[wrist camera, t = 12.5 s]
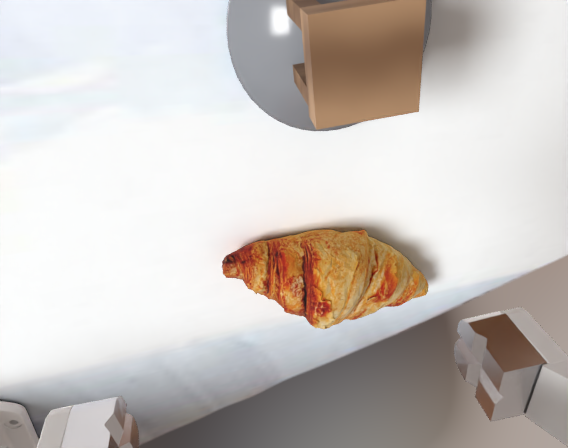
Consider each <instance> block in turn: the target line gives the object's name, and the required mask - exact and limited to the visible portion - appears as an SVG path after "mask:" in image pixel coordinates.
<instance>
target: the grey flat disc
mask: <svg viewBox="0 0 568 448" xmlns="http://www.w3.org/2000/svg"><path fill="white" fill-rule="evenodd" d="M316 1H317V2H319V3H320V4H327V3H333V2H339V1H346V0H316ZM430 22H431V0H426V11H425V25H424V40H423V52H424V49H425V46H426V43H427V39H428V35H429V30H430ZM227 40H228V48H229V52H230V56H231V60H232V64H233V67H234V69H235V72H236V74H237V77H238V79H239V81H240V82H241V84H242V86H243V88H244V89H245V91H246V92H247V94H248V95H249V96H250V98H251V99H252V100H253V101H254V102H255V103H256V104H257V105H258V106H259V107H260V108H261V109H262V110H263V111H264V112H266V113H267V114H268V115H269V116H271V117H273V118H274V119H276V120H278V121H280V122H282V123H284V124H286V125H289V126H291V127H295V128H299V129H303V130H310V131H329V130H337V129H341V128H345V127H349V126H352V125H354V124H357V123H360V122H357V123H352V124H346V125H340V126H335V127H329V128H324V129H318V130H316V128H315V126H314V124H313V123H312V121H311V119H310V117H309V109H308V105H307V103H306V101H305V100H304V98H303V96H302V94H301V93H300V91H299V89H298V88H297V86H296V84H295V82H294V75H293V65H294V64H300V63H305V62H304V51H303V39H302V31H301V30H300V28H299V27H298V26H297V25H296V24H295V23H294V22H293V21H292V20H291V18H290V17H289V16H288V15H287V7H286V0H229V3H228V11H227Z"/></svg>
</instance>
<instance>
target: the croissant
mask: <svg viewBox="0 0 568 448" xmlns="http://www.w3.org/2000/svg"><path fill="white" fill-rule="evenodd" d="M222 264H223V265H222V268H223V274H224V275H225V276H226V277H227V278H237V279H243V281H244V283H245V284H246V286H247V287H248V289H251V290H253V291H254V292H255V293H256V294H257V293H259V294H261V295H265V296H266V297H267V298H268V299H273V300H276V301H277V302H278V303H279V304H280V305H281V306H282V307H283V308H284V311H285V312H286V313H290V314H295V315H299V316H304V317H306V319H307V320H308V322H309V323H310V324H311V325H312V326H314V327H315V328H322V329H326V328H329V327H331V326H332V325H336V324H338V323H340V322H342V321H343V320H344V319H350V320H354V319H357V318H361V317H364V316H366V315H369V314H372V313H374V312H376V311H377V310H379V309H380V308H382V307H385V306H399V305H402V304H403V303H405V302H407V301H409V300H411V299H412V298H416V297H420V296H424V295H426V294H427V292H428V283H427V281H426V279H425V277H424V275H423V274H422V273H421V272H420V271H419V270H417V269H416V268H415V267H414V266H413V265H412V264H411V262H410V261H409V260H408V259H407V258H406V257H404V256H403V255H402V254H401V253H400V252H399V251H397V250H395V249H394V248H393V247H391V246H390V245H388V244H386V243H383V242H380V241H379V240H377V239H374V238H372V237H370V236H368V234H367V232H366V231H365V230H364V229H363V230H360V231H347V232H343V233H341V232H338V231H334V230H312V231H306V232H303V233H300V234H297V235H289V236H286V237H282V238H276V239H271V240H268V241H257V242H253V243H251V244H249V245H247V246H244V247H242V248H240V249H239V250H237V251H235V252H233V253H231V254H229V255H227V256H226V257H225V258H224V260H223V261H222Z"/></svg>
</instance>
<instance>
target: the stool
mask: <svg viewBox="0 0 568 448" xmlns="http://www.w3.org/2000/svg"><path fill="white" fill-rule="evenodd" d="M286 7H287V15H288V16H289V17H290V18H291V20H292V21H293V22H294V23H295V24H296V25H297V26H298V27H299V28H300V30H301V31H302V39H303V51H304V62H305V63H300V64H294V65H293V75H294V82H295V84H296V86H297V88H298V89H299V91H300V93H301V94H302V96H303V98H304V100H305V101H306V103H307V105H308V109H309V117H310V119H311V121H312V123H313V124H314V126H315V128H316V130H318V129H324V128H329V127H335V126H340V125H346V124H352V123H357V122H363V121H368V120H374V119H380V118H385V117H391V116H397V115H402V114H408V113H413V112H419V100H420V85H421V70H422V55H423V40H424V25H425V11H426V0H346V1H339V2H333V3H327V4H320V3H319V2H317V1H316V0H286Z"/></svg>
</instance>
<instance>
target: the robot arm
mask: <svg viewBox="0 0 568 448" xmlns="http://www.w3.org/2000/svg"><path fill="white" fill-rule="evenodd" d="M457 331H458V333H459V334H460V336H461V337H460V339H459V340H458V341H457V342H456V343H455V349H454V354H455V360H456V364H457V366H458V369H459V371H460V373H461V375H462V376H463V378H464V380H465V381H466V382H468V383H470V384H472V385H473V386H475V387H476V395H475V397H476V399H477V400H478V402H479V404H480V405H481V407H482V409H483V410H484V412H485V413H486V415H487V416H488V418H489V420H490V421H495V420H500V419H505V418H510V417H514V416H519V415H524V414H526V415H525V417H527V418H528V419H530V420H531V421H532V422H534V423H535V424H537V425H538V426H539V427H541V428H542V429H544V430H545V431H546V432H548V433H549V434H551V435H552V436H554V437H555V438H556V439H558V440H559V441H560V442H562V443H563V444H565V445H566V446H568V355H567V354H565V352H564V351H563V350H562V349H561V348H560V347H559V346H558V345H557V344H556V342H555V341H554V340H553V339H552V338H551V337H550V336H549V335H548V334H547V332H546V331H545V330H544V329H543V328H542V327H541V326H540V325H539V324H538V323H537V321H536V320H535V319H534V318H533V317H532V316H531V315H530V314H529V313H528V312H527V311H526V310H525V309H523V308H522V307H518V308H513V309H509V310H504V311H500V312H493V313H489V314H485V315H481V316H476V317H472V318H468V319H464V320H461V321H460V322H459V324H458V330H457ZM126 406H127V404H126V402H125V400H124V399H123V397H122V396H118V397H113V398H108V399H103V400H97V401H92V402H87V403H82V404H77V405H72V406H67V407H62V408H58V409H53V410H51V411H50V412H49V414H48V415H47V417H46V419H45V422H44V426H43V429H42V432H41V436H40V439H39V438H38V436H37V434H36V432H35V429H34V427H33V425H32V422H31V420H30V418H29V415H28V413H27V411H26V409H25V407H23V406H22V405H20V404H16V403H11V402H4V401H0V448H139V434H138V428H137V424H136V421H135V419H134V417H133V416H132V415H130V414H128V413H126Z"/></svg>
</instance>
